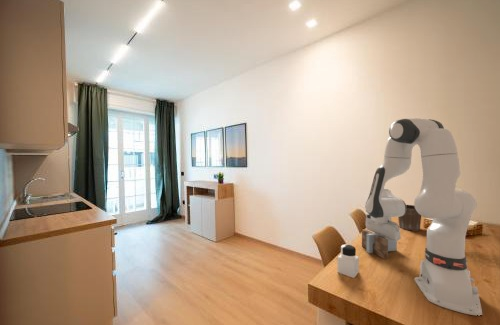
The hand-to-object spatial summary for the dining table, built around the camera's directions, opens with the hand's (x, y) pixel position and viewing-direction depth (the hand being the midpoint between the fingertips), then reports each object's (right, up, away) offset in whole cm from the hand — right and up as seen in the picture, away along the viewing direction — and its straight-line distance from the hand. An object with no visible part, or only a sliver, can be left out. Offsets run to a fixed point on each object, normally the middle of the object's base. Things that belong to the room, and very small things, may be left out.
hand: (381, 242), depth 116 cm
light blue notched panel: (0, -5, 0) cm, 5 cm away
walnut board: (-5, -5, -1) cm, 7 cm away
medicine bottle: (-29, -5, -21) cm, 36 cm away
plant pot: (+45, -4, +39) cm, 59 cm away
